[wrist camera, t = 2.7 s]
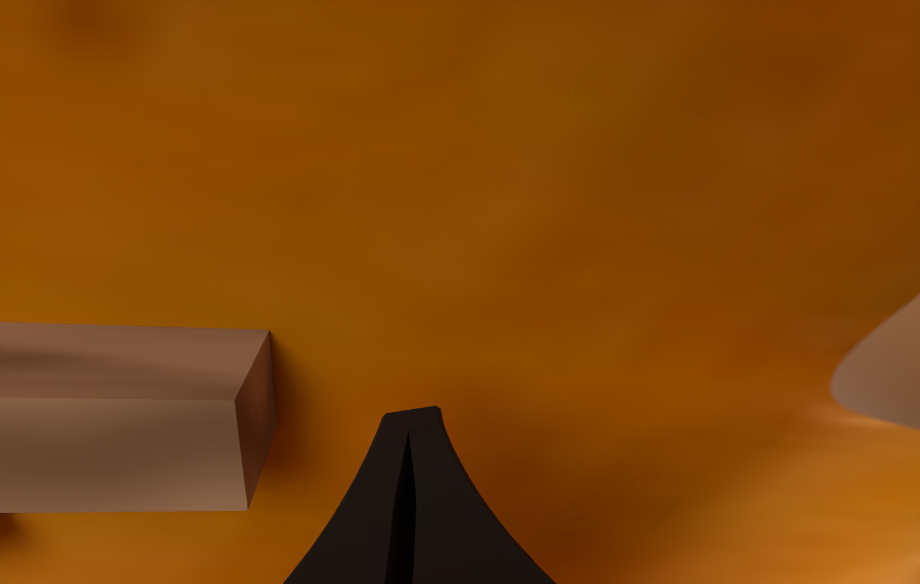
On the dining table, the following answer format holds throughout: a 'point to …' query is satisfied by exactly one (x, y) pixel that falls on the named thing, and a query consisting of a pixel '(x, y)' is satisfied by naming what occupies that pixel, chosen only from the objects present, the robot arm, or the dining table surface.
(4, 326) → the rail
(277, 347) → the dining table surface
